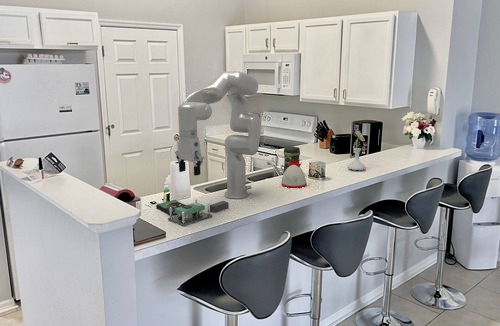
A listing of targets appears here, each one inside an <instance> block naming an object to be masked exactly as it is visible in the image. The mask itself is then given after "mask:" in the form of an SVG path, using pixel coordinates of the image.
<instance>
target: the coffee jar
mask: <svg viewBox="0 0 500 326" xmlns="http://www.w3.org/2000/svg"><path fill="white" fill-rule="evenodd" d="M300 155H301V149H300V146H299V147H298V146H293V145H292V146H291V145H287V146H284V149H283V156H284V159H283V160H284V161H283V162H284V163H283V175H284V172H285V171H286V169H287V168H288V164H289V165H290V161H291V163H292V160H294V163H295V159H296V162H297V163H298V160H299V161H300ZM287 163H288V164H287ZM283 175H282V176H283Z"/></svg>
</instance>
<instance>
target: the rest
mask: <svg viewBox="0 0 500 326" xmlns="http://www.w3.org/2000/svg"><path fill="white" fill-rule="evenodd" d="M229 205H230V203H229V202H228V201H226V200H222V201H219V202H215V203H211V204H210V213H214V214H216V213H218V212H222V211H225V210H228V209H230V207H229Z"/></svg>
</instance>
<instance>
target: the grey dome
mask: <svg viewBox="0 0 500 326" xmlns="http://www.w3.org/2000/svg"><path fill="white" fill-rule="evenodd" d="M287 164H288V163H287ZM302 164H303V162H302V161H301V162H300V159H299V160H298V163H297V162H296V159H295V163H294V160H292V163H291V161H290V165H289V164H288V168H287V169H286V171H285V172H284V171H283V173H284V175H282V178H281V186H282V187H283V188H285V187H287V188H286V189H290V188H299V189H303V188H302V187H304V188H306V187H307V178H306V175H305V173H304V171H303V169H302V168H301V165H302ZM305 186H306V187H305Z"/></svg>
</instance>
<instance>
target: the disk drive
mask: <svg viewBox="0 0 500 326" xmlns="http://www.w3.org/2000/svg"><path fill="white" fill-rule="evenodd" d="M185 205H186V204H184V203H182V202H180V201H178V200H176V199H172V200H168V201H165V202H161V203H156V205H155V208H156V210H158V211H160V212H162V213H164V214H166V215H167V216H169V217H170V207H172V217H174V216H177V215H178V214H176V213H175V208H178V207H182V206H185Z"/></svg>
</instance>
